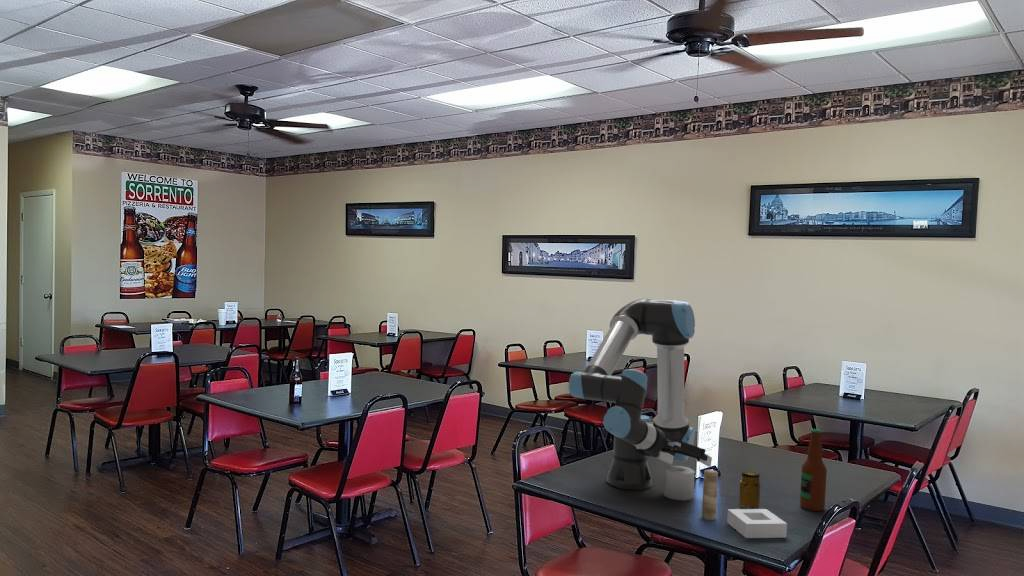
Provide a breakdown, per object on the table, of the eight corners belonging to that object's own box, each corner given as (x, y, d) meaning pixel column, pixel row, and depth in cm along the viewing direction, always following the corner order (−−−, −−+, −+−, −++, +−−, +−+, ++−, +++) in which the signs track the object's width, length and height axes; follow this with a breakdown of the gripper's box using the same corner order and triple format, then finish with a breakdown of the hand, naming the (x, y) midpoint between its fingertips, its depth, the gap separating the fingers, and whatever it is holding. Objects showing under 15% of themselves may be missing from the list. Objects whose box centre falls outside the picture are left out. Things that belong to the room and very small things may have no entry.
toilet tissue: (678, 487, 246) (679, 462, 246) (698, 499, 233) (699, 473, 233) (654, 488, 244) (655, 462, 244) (672, 501, 231) (673, 474, 231)
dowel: (699, 515, 218) (701, 469, 218) (712, 515, 219) (714, 469, 218) (705, 520, 214) (707, 473, 214) (717, 520, 215) (720, 473, 214)
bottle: (803, 502, 235) (808, 426, 234) (827, 508, 230) (831, 430, 230) (796, 507, 229) (800, 429, 229) (820, 513, 225) (824, 433, 224)
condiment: (743, 506, 229) (745, 468, 229) (769, 513, 223) (771, 474, 223) (732, 511, 224) (734, 472, 223) (759, 518, 218) (761, 479, 218)
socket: (727, 522, 213) (727, 509, 213) (765, 522, 215) (766, 508, 215) (745, 538, 201) (746, 523, 201) (786, 537, 203) (787, 523, 203)
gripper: (610, 449, 212) (655, 471, 223) (681, 451, 193) (725, 475, 205) (616, 424, 215) (659, 448, 226) (685, 424, 196) (729, 450, 208)
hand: (690, 461), depth 216 cm, fingers open, 13 cm apart
